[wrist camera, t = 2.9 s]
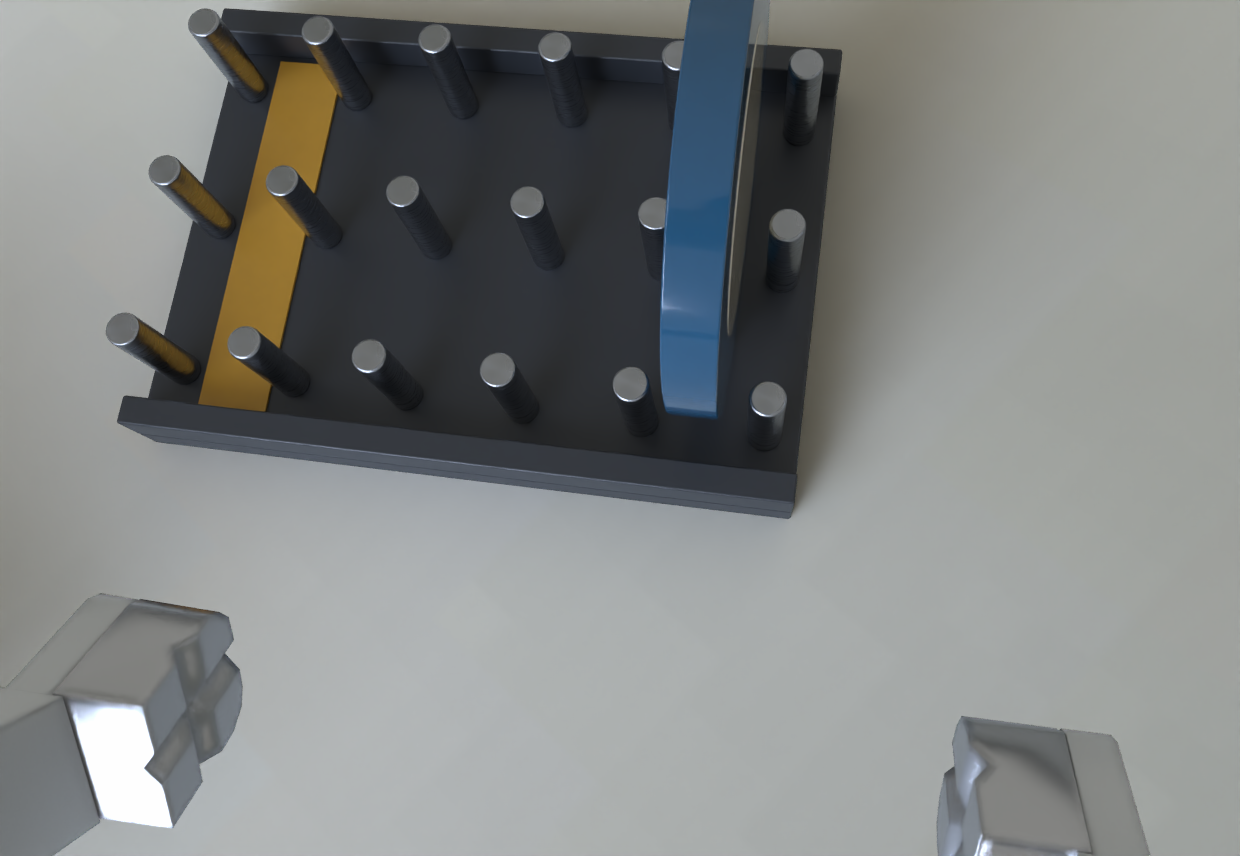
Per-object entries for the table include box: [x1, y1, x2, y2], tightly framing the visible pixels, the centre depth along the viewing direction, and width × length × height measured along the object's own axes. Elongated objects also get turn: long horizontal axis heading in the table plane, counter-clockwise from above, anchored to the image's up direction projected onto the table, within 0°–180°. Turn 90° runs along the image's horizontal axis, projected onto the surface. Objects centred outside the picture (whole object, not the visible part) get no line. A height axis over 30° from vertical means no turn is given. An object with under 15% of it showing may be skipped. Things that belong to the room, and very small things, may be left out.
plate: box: [660, 0, 770, 420], centre depth 26 cm, size 11×1×11 cm, turn 172°
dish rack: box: [106, 8, 842, 519], centre depth 31 cm, size 13×18×4 cm
